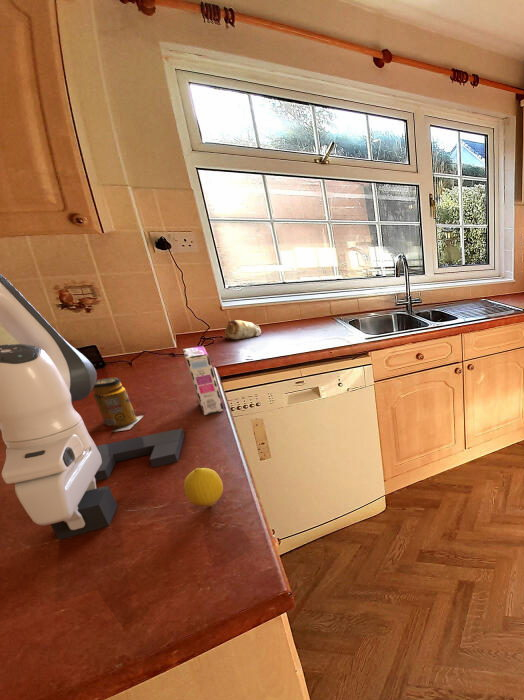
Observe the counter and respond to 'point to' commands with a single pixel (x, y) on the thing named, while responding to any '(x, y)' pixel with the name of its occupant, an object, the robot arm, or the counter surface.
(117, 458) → the base pad
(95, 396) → the condiment
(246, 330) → the pastry
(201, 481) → the lemon
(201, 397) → the candy bar box
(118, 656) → the counter surface
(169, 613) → the counter surface
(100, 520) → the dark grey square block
